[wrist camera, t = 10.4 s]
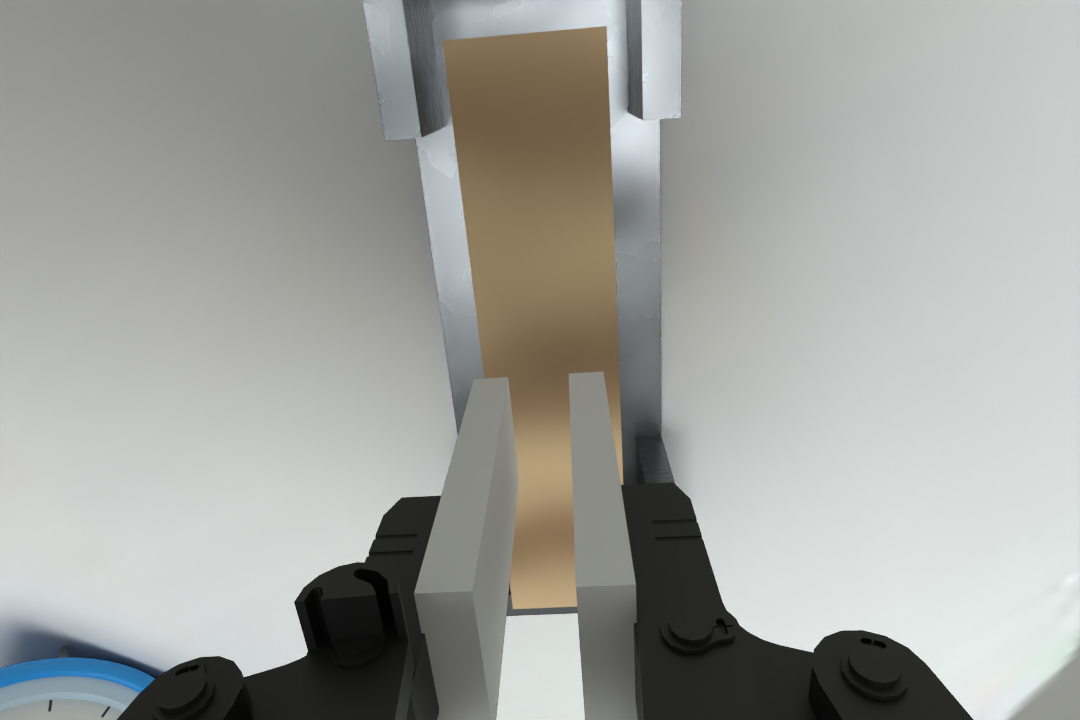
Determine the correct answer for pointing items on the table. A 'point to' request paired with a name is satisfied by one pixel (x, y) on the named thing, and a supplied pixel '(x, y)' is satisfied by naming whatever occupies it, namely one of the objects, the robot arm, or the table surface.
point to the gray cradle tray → (635, 111)
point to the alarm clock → (68, 689)
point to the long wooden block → (540, 263)
